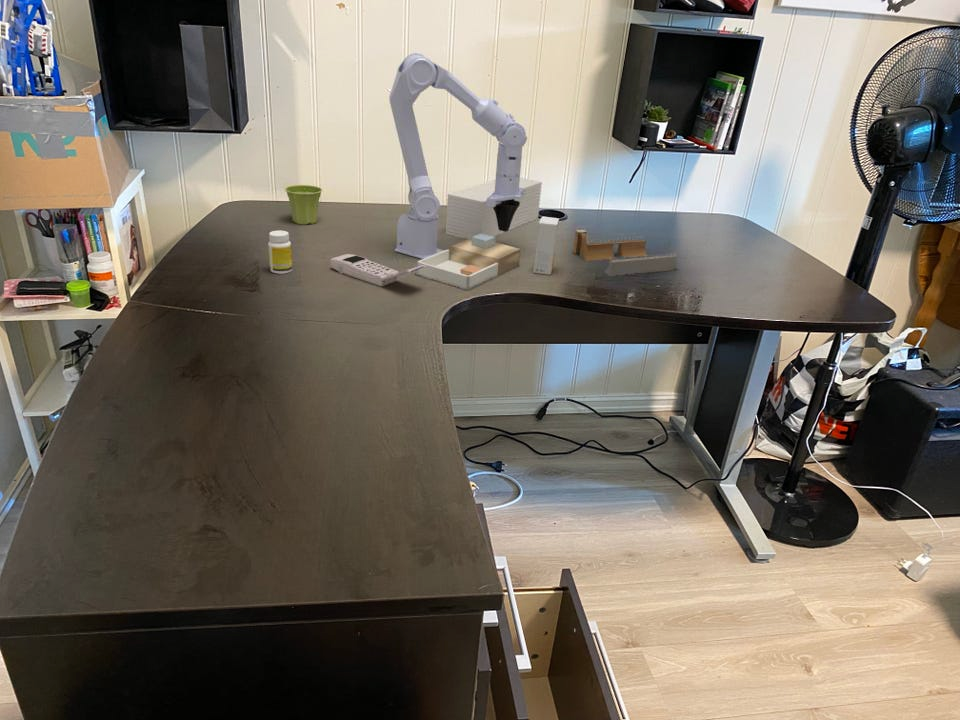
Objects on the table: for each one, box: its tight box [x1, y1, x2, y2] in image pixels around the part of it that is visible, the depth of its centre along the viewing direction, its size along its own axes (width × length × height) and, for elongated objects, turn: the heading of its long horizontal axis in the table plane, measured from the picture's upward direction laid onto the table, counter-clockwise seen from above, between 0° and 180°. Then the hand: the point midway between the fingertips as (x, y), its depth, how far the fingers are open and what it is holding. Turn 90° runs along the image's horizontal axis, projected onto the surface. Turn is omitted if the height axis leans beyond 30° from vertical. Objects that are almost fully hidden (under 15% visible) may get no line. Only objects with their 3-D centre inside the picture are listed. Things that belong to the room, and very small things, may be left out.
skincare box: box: [532, 215, 560, 276], centre depth 163 cm, size 6×4×12 cm
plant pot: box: [284, 184, 323, 225], centre depth 185 cm, size 9×9×9 cm
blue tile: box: [471, 234, 496, 249], centre depth 166 cm, size 4×4×2 cm
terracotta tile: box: [460, 265, 484, 276], centre depth 156 cm, size 4×4×2 cm
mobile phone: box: [330, 253, 425, 287], centre depth 152 cm, size 6×6×25 cm
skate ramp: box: [572, 226, 678, 277], centre depth 178 cm, size 29×35×8 cm
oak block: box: [449, 238, 522, 277], centre depth 166 cm, size 13×10×4 cm
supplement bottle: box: [267, 229, 293, 275], centre depth 152 cm, size 5×5×8 cm
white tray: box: [415, 249, 498, 291], centre depth 158 cm, size 14×12×3 cm
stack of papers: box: [445, 177, 543, 240], centre depth 194 cm, size 32×11×11 cm, turn 148°
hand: (503, 230), depth 172 cm, fingers closed
